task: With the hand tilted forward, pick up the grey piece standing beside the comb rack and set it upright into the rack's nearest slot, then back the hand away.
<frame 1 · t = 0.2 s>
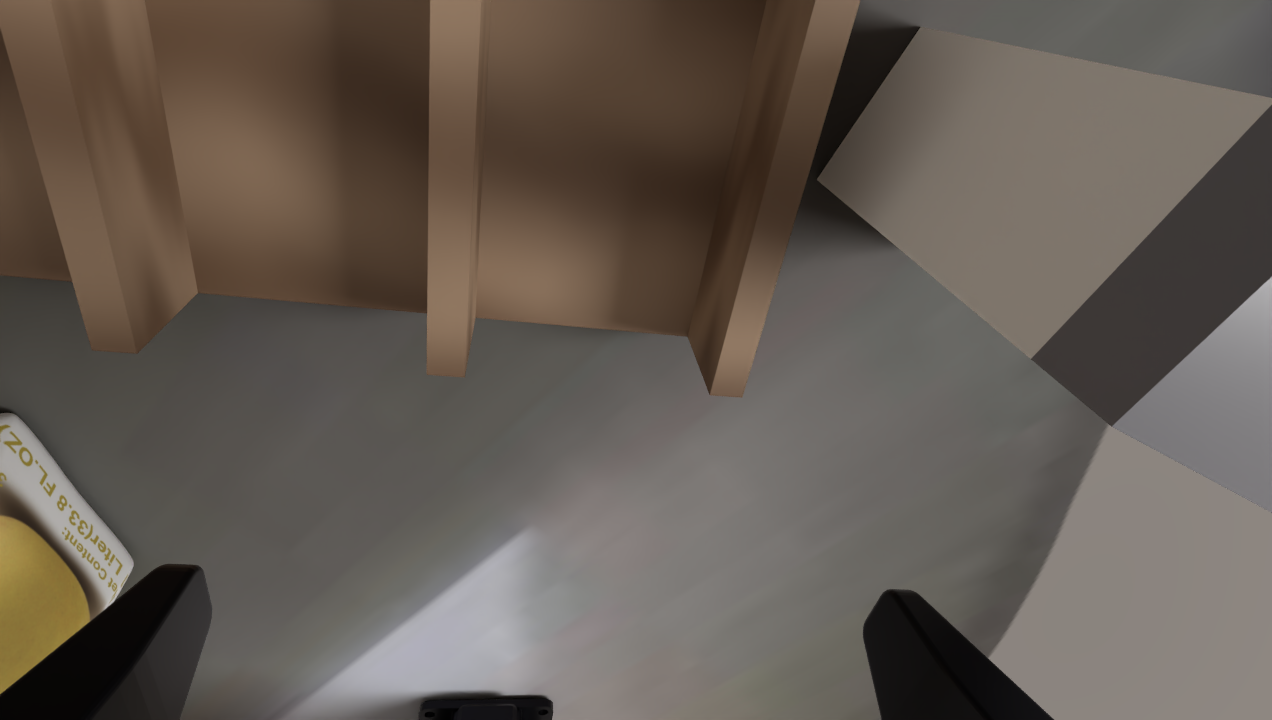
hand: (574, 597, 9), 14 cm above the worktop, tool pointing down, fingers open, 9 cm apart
juice carton: (0, 501, 24), on the worktop
grey piece: (924, 146, 21), on the worktop
comb rack: (319, 91, 18), on the worktop
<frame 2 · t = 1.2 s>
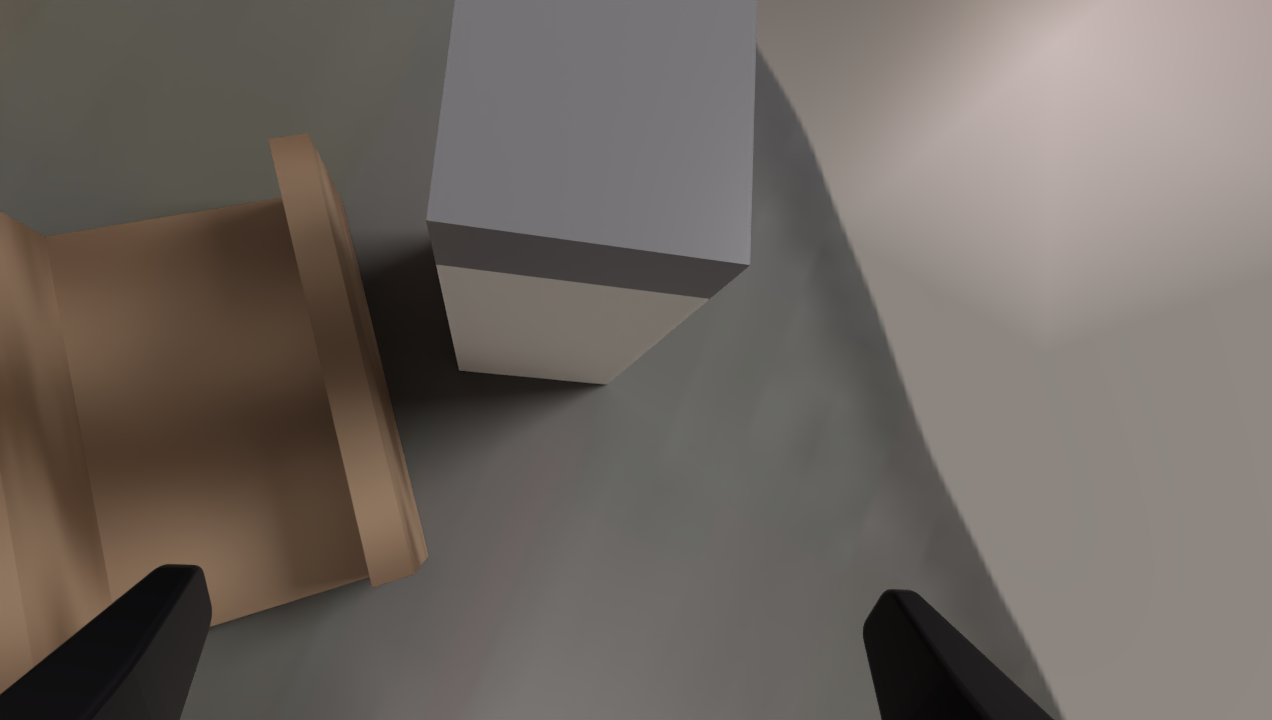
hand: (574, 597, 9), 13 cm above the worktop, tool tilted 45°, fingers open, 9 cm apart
grey piece: (541, 307, 23), on the worktop
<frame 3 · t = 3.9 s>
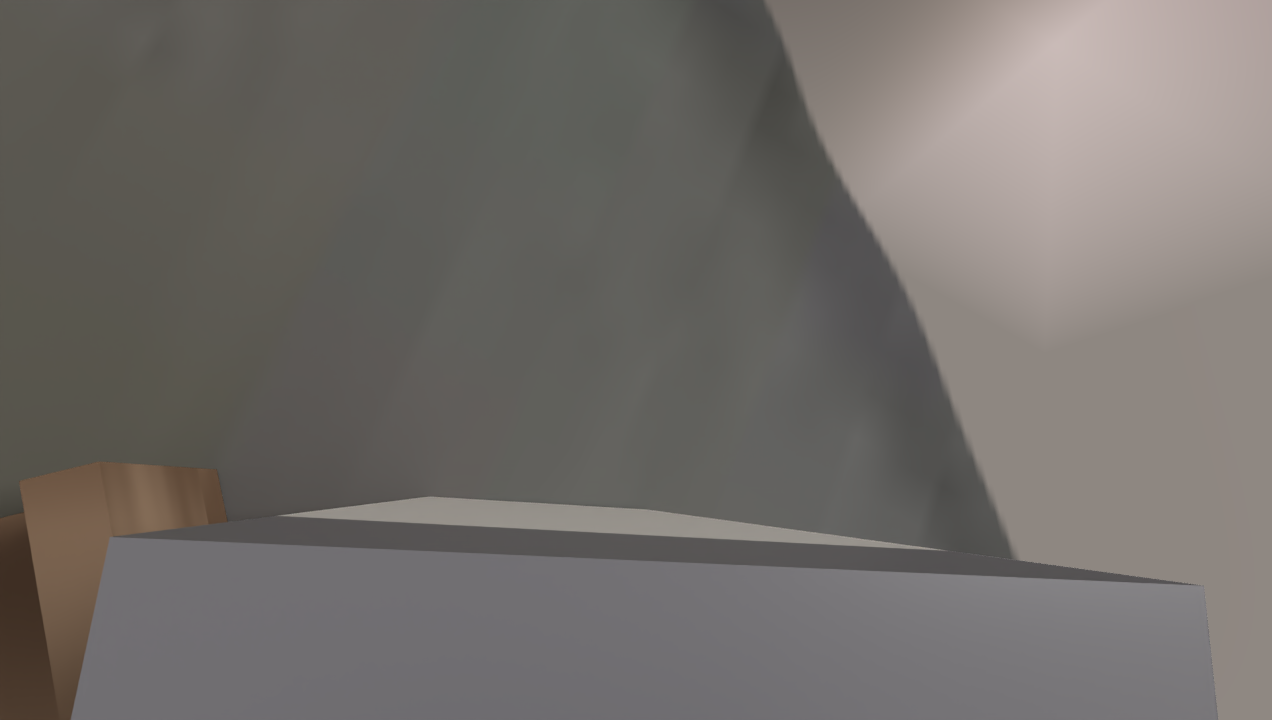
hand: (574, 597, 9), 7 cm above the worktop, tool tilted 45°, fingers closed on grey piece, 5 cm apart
grey piece: (530, 617, 15), on the worktop, touching gripper
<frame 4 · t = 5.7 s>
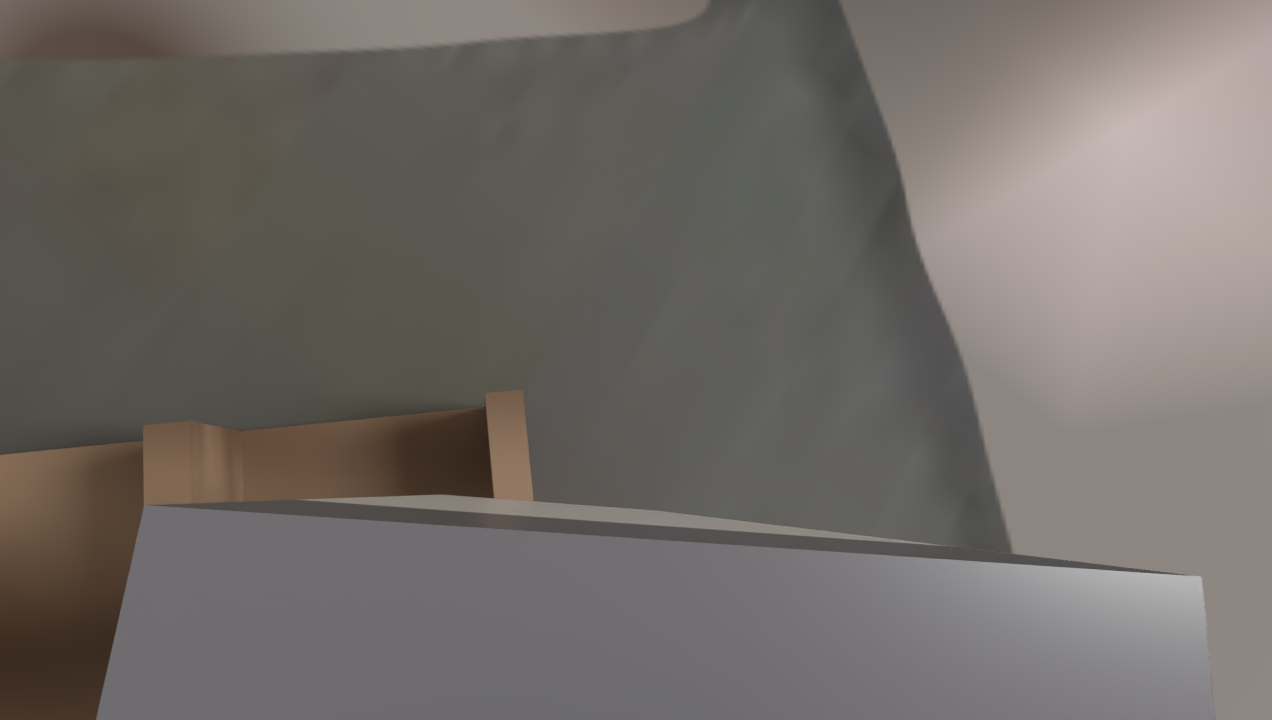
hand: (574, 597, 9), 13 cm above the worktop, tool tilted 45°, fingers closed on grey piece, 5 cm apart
grey piece: (540, 615, 15), point 7 cm above the worktop, touching gripper
comb rack: (81, 666, 19), on the worktop
when the fingers open (9 cm above the worktop, at t = 7.5 s): grey piece drops 1 cm, resting on comb rack.
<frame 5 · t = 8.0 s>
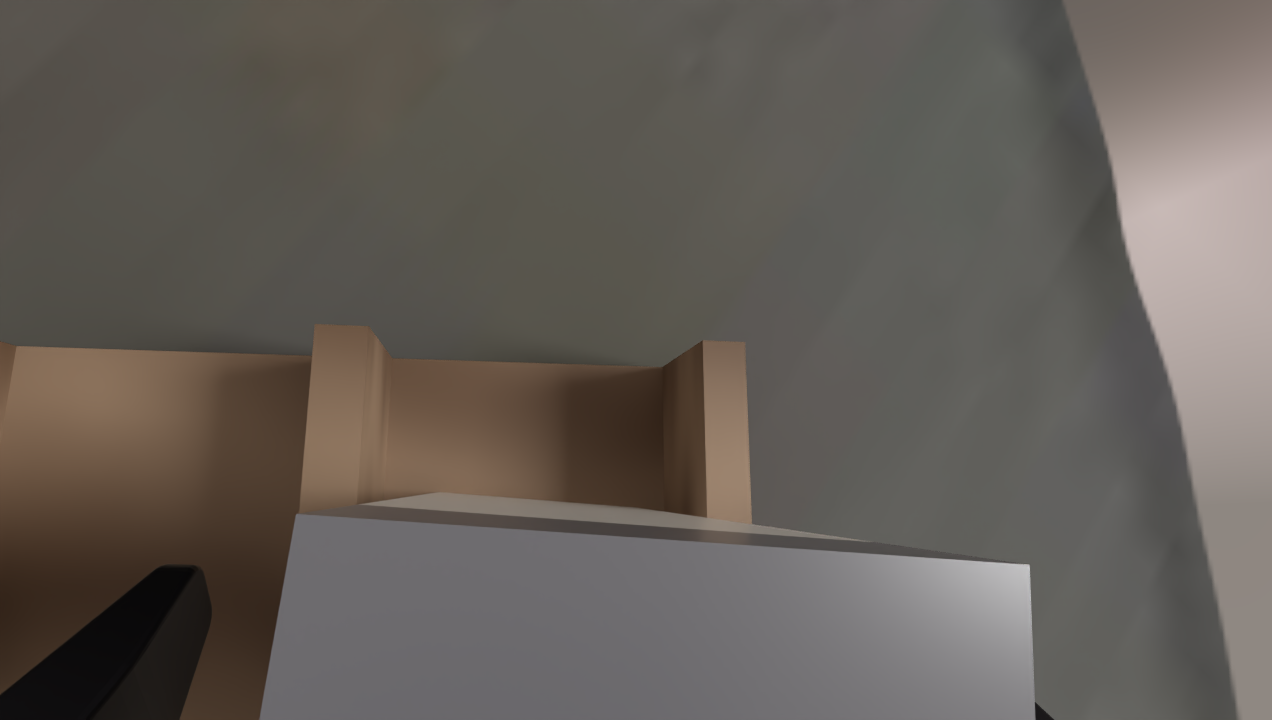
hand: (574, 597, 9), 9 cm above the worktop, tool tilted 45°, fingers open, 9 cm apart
grey piece: (530, 603, 16), point 1 cm above the worktop, touching comb rack
comb rack: (179, 611, 16), on the worktop
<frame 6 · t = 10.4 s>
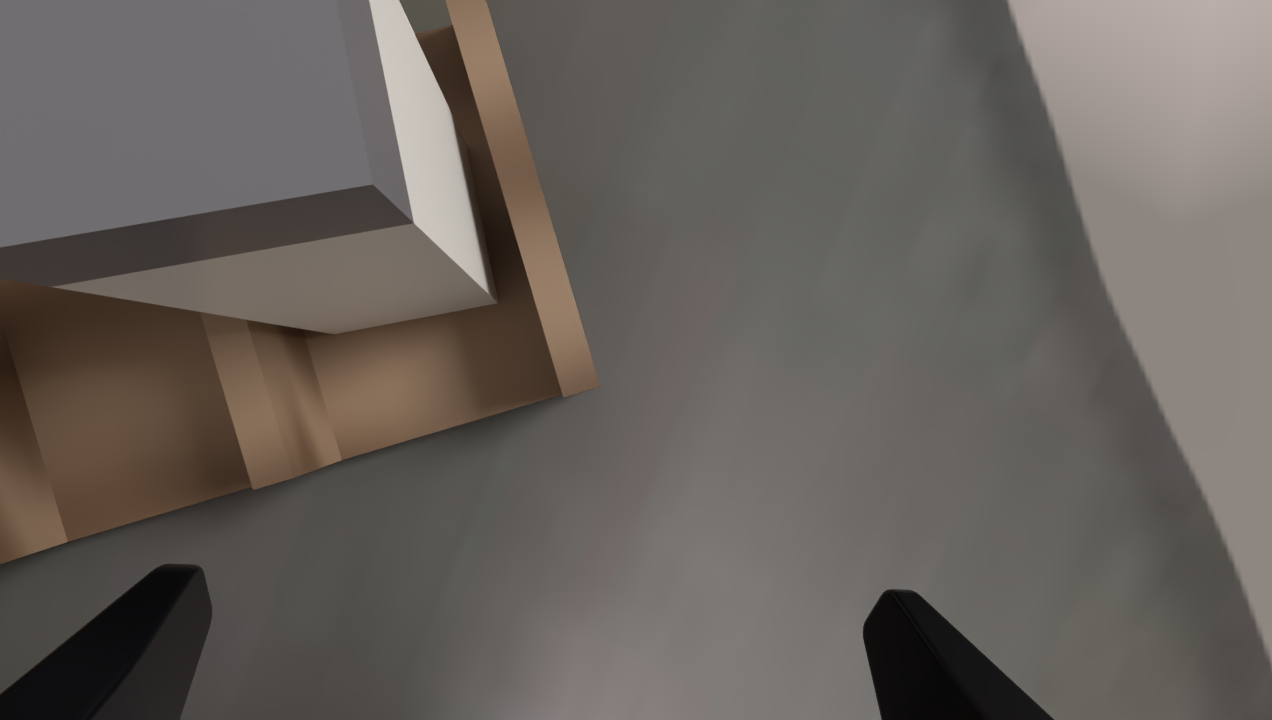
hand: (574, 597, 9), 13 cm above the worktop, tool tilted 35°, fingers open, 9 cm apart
grey piece: (401, 238, 20), point 1 cm above the worktop, touching comb rack
comb rack: (153, 313, 21), on the worktop
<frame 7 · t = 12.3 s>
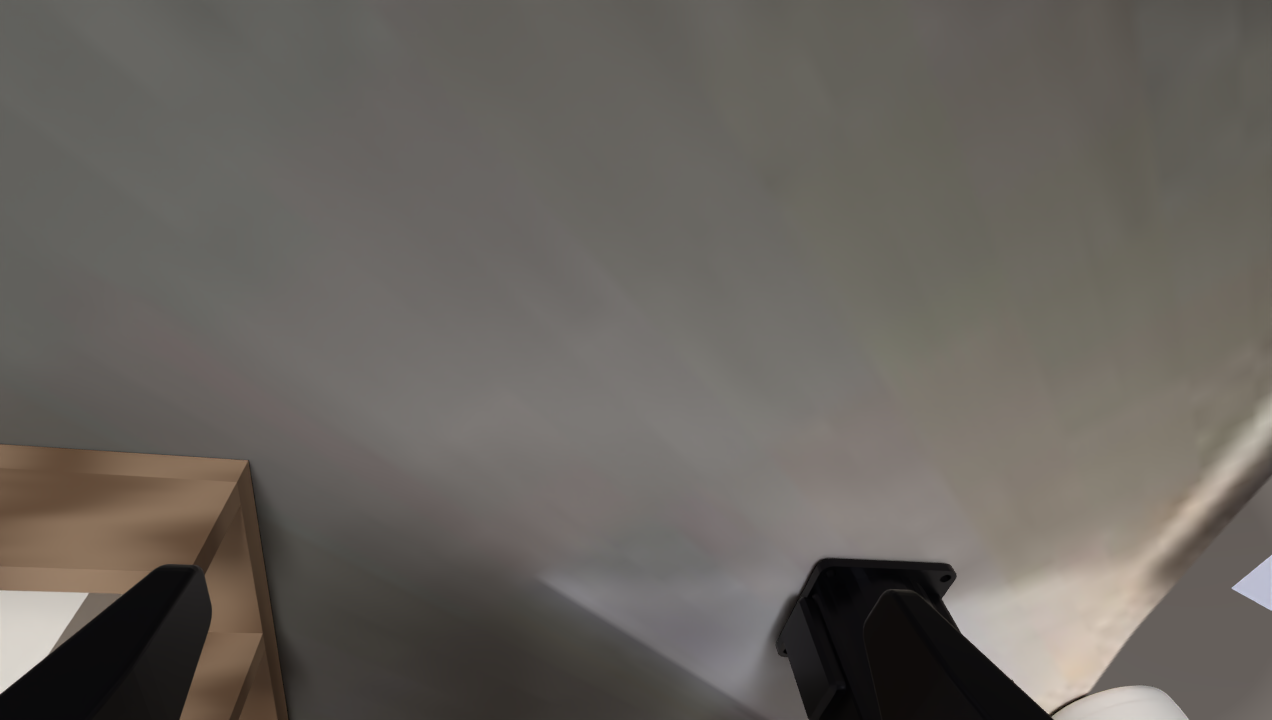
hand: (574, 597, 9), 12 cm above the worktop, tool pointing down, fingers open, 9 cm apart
grey piece: (57, 566, 22), point 1 cm above the worktop, touching comb rack
pill bottle: (1095, 713, 40), on the worktop
comb rack: (124, 674, 27), on the worktop
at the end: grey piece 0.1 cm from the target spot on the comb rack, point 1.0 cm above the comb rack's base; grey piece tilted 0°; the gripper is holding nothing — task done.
